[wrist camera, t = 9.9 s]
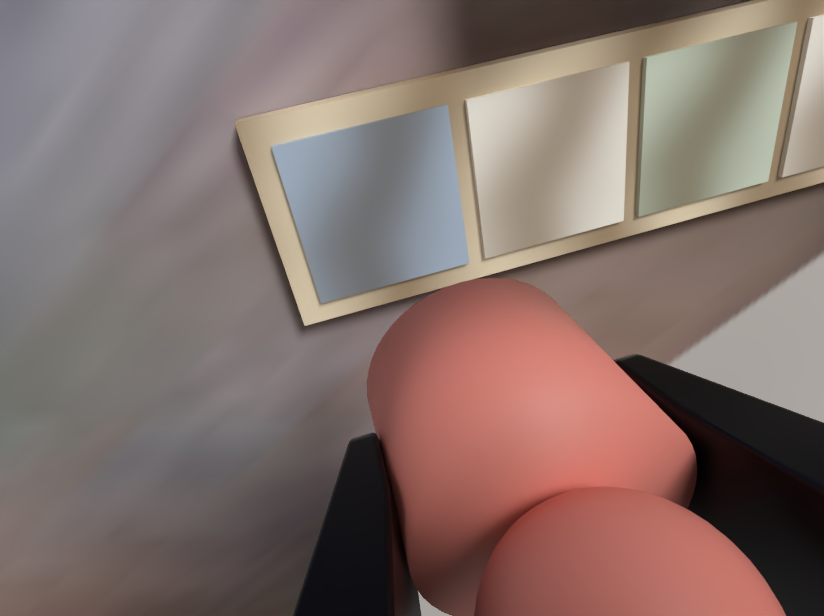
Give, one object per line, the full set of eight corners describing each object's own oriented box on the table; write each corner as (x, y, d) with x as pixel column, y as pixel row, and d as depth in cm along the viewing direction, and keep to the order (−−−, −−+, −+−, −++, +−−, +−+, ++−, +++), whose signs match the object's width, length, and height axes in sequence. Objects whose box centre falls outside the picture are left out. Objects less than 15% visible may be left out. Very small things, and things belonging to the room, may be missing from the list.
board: (949, -45, 18) (982, -49, 17) (889, 153, 22) (914, 159, 21) (236, 119, 15) (234, 125, 15) (303, 315, 19) (304, 329, 18)
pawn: (571, 252, 8) (1059, 636, 3) (574, 422, 10) (877, 832, 5) (342, 313, 8) (471, 871, 3) (390, 479, 10) (518, 985, 5)
